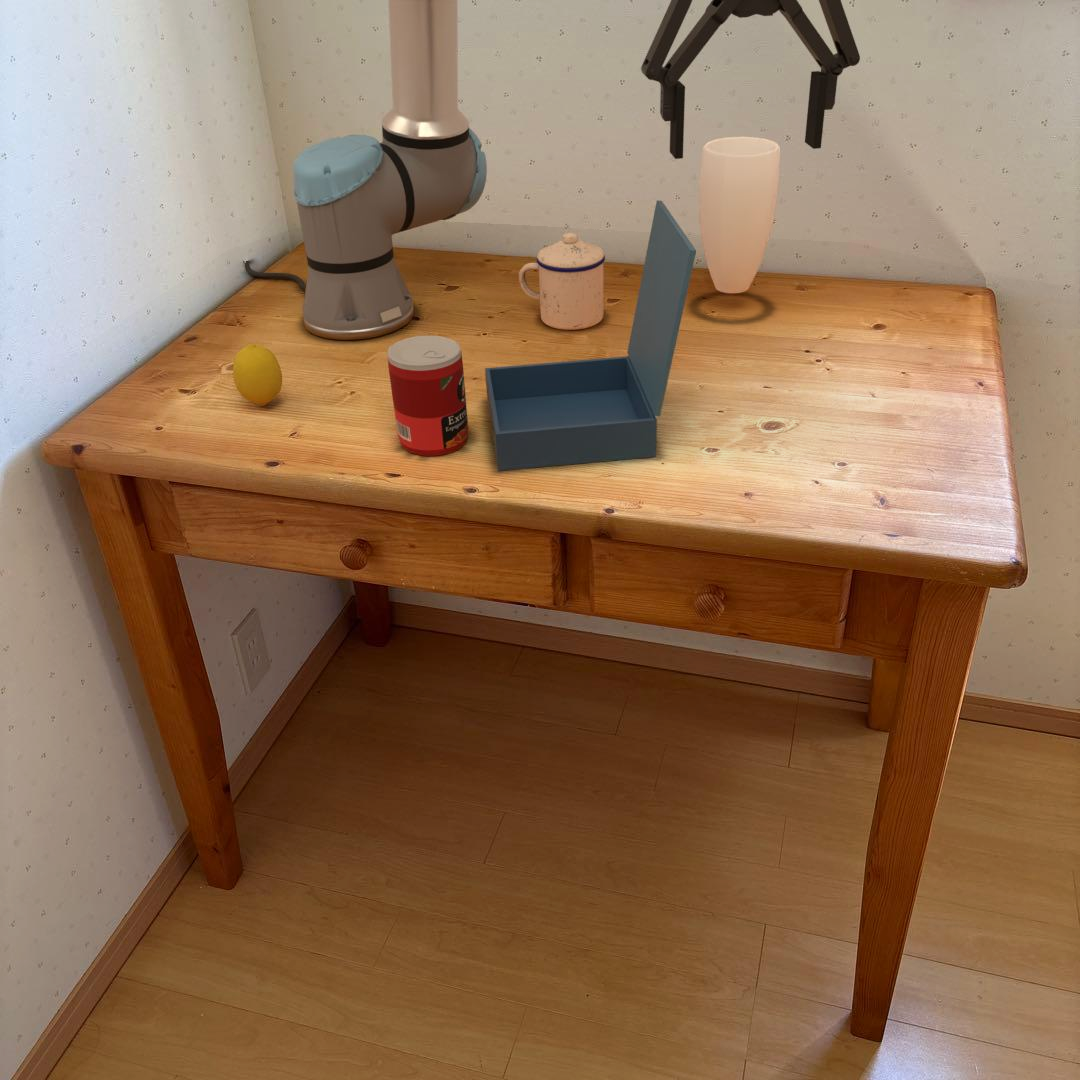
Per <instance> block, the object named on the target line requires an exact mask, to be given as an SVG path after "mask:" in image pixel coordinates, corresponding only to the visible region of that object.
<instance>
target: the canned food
mask: <svg viewBox="0 0 1080 1080" xmlns="http://www.w3.org/2000/svg"><path fill="white" fill-rule="evenodd" d="M386 357H387V367H388V375H389V383H390V388H391V397H392V403H393V411H394V418H395V419H394V420H395V426H396V432H397V433H396V434H397V439H398V441H399V442H400V445H401V447H402V448H403V449H404V450H405V451H407V452H409V453H411V454H414V455H418V456H424V457H436V456H437V457H438V456H444V455H448V454H451V453H454V452H455V451H458V450H459V449H461V448H462V447H463V446H464V445H465V444H466V442H467V440H468V436H469V423H468V421H469V420H468V409H467V399H466V398H467V397H466V384H465V374H464V373H465V372H464V360H463V352H462V347H461V345H460V344H459V343H458V341H456V340H454V339H452V338H449V337H447V336H441V335H431V334H428V335H418V336H417V335H415V336H411V337H407V338H404V339H401V340H399V341H396V342H394V343H393V344H392V345H390V346H389V347H388V348H387V356H386Z"/></svg>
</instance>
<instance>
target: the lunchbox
mask: <svg viewBox="0 0 1080 1080" xmlns="http://www.w3.org/2000/svg"><path fill="white" fill-rule="evenodd" d="M484 372H485V373H484V375H485V386H486V388H485V389H486V401H487V402H486V403H487V408H488V414H489V420H490V427H491V433H492V440H493V448H494V453H495V461H496V466H497V471H498V472H503V471H514V470H515V471H516V470H525V469H535V468H536V469H537V468H547V467H556V466H557V467H559V466H567V465H568V466H569V465H579V464H590V463H603V462H613V461H623V460H624V461H625V460H635V459H646V458H656V457H657V437H658V433H657V432H658V419H657V416H654V413H653V411H652V409H651V407H650V404H649V402H648V400H647V397H646V395H645V393H644V390H643V388H642V386H641V383H640V381H639V379H638V376H637V374H636V372H635V369H634V367H633V365H632V363H631V360H630V358H629V356H628V355H624V356H615V357H603V358H602V357H601V358H600V357H599V358H589V359H579V360H567V361H553V362H543V363H531V364H521V365H520V364H519V365H505V366H496V367H495V366H494V367H485V368H484Z"/></svg>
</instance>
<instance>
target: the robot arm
mask: <svg viewBox="0 0 1080 1080" xmlns="http://www.w3.org/2000/svg"><path fill="white" fill-rule="evenodd" d="M387 1H388V3H387V4H388V5H387V6H388V28H389V49H390V50H389V51H390V75H391V98H392V99H391V101H392V108H391V109H390V110H389V111H388V112H387V113H386V114H385V115H384V116H383V117H382V119H381V132H382V133H381V135H382V141H381V142H380V141H379V140H378V139H377V138H376V137H374V136H371V135H367V134H349V135H346V136H343V137H340V136H336V137H332V138H328V139H324V140H322V141H319V142H317V143H314V144H312V145H311V146H308V147H307V148H305V149H304V150H303V151H302V152H301V153H299V154H298V155H297V156H296V159H295V160H294V163H293V165H292V177H293V188H294V189H293V195H294V199H295V201H296V204H297V211H298V217H299V222H300V227H301V233H302V240H303V245H304V251H305V255H306V260H307V268H308V271H307V272H308V273H307V279H306V283H305V282H304V281H303V279H302V278H301V277H300V276H298V275H296V274H293V273H287V272H263V271H262V272H261V271H256V270H254V269H252V268H251V265H250V260H249V261H246V263H245V266H244V269H245V271H246V272H247V273H248V274H249V275H250V276H252V277H256V278H263V279H264V278H265V279H288V280H292V281H294V282H296V283H297V284H298V285H299V287H300V289H302V290H303V291H304V302H303V305H302V316H303V317H302V318H303V324H304V327H305V329H306V330H307V331H308V332H309V333H311V334H313V335H315V336H318V337H321V338H324V339H330V340H338V341H339V340H340V341H353V340H354V341H355V340H365V339H371V338H377V337H381V336H384V335H388V334H390V333H394V332H395V331H398V330H400V329H402V328H403V327H405V326H407V325H408V324H409V323H410V322H411V321H412V320H413V318H414V316H415V309H414V302H413V298H412V296H411V292H410V291H409V288H408V287H407V284H406V281H405V280H404V278H403V276H402V274H401V272H400V269H399V267H398V265H397V263H396V259H395V255H394V246H393V245H394V244H393V235H395V234H399V233H403V232H406V231H409V230H413V229H415V228H419V227H422V226H425V225H429V224H432V223H436V222H440V221H447V220H451V219H453V218H454V217H456V216H458V215H459V214H462V213H463V214H464V213H466V212H467V211H470V210H471V209H472V208H473V207H474V206H475V205H476V204H477V203H478V202H479V200H480V199H481V197H482V195H483V193H484V190H485V187H486V183H487V182H486V181H487V173H488V166H487V157H486V153H485V151H482V149H481V148H482V146H483V143H482V142H481V140H480V138H479V137H478V135H477V134H476V133H475V131H473V130H472V129H471V128H470V121H469V119H468V117H466V116H465V115H464V114H463V112H461V110H460V109H459V107H458V106H459V103H458V102H459V99H458V98H459V97H458V95H459V93H458V92H459V89H458V87H459V82H458V79H459V77H458V76H459V75H458V73H459V71H458V69H459V68H458V62H459V61H458V45H459V44H458V0H387ZM692 3H693V0H670V2H669V4H668V7H667V9H666V11H665V13H664V15H663V18H662V20H661V22H660V24H659V26H658V28H657V31H656V33H655V35H654V38H653V40H652V42H651V44H650V46H649V49H648V51H647V53H646V55H645V58H644V59H643V62H642V64H641V67H640V71H641V73H642V74H643V75H644V76H645V77H646V79H648V80H650V81H654V82H657V83H659V85H660V95H659V96H660V99H659V100H660V101H659V102H660V103H659V114H660V117H661V119H662V120H663V122H669V153H670V154H671V156H672V157H673V158H674V160H678V159H679V160H681V159H684V137H685V136H684V133H685V107H686V106H685V102H686V95H685V94H686V86H685V84H683V83H682V81H680V79H681V77H682V76H683V75H684V73H686V71H687V69H688V68H689V67H690V66H691V64H692V63H693V62H694V60H696V58H697V57H698V55H699V54H700V53H701V52H702V51H703V49H704V47H705V46H706V45H707V43H708V42H709V41H710V39H711V38H712V37H713V36H714V35H715V33H716V32H717V30H719V28H720V27H721V26H722V25H723V24H725V22H726V21H727V20H728V19H729V17H730V16H731V15H732V16H734V17H737V18H739V19H742V18H750V17H752V16H755V15H759V16H762V17H771V16H772V17H773V16H774V14H776V13H777V12H779V13H780V14H781V15H782V16H783V18H785V20H786V21H787V23H788V24H789V25H790V27H791V28H792V30H793V31H794V32H795V34H796V35H797V37H798V38H799V39H800V41H801V43H802V44H803V45H804V46H805V48H806V49H807V51H808V52H809V54H810V55H811V57H812V58H813V59H814V61H815V62H816V64H817V65H818V66H819V68H820V70H815V71H814V70H813V71H811V72H810V81H809V91H808V92H809V94H808V102H807V103H808V104H807V114H806V124H805V134H804V135H805V136H804V143H805V144H807V145H808V146H809V147H810V148H811V149H813V150H814V149H815V150H816V149H822V141H823V132H824V131H823V130H824V121H825V112H826V111H830V110H833V109H834V106H835V104H836V95H837V87H838V86H837V85H838V78H839V76H841V75H842V73H843V71H844V69H846V68H849V67H855V66H857V65H858V64H859V63H860V61H861V55H860V53H859V49H858V47H857V44H856V41H855V38H854V35H853V32H852V29H851V26H850V23H849V20H848V17H847V15H846V12H845V11H846V10H845V9H844V6H843V3H842V0H818V3H819V6H820V8H821V11H822V14H823V17H824V20H825V22H826V25H827V29H828V31H829V34H830V37H831V39H832V42H833V45H834V47H835V50H836V53H833V52H832V50H831V48H830V47H829V46H828V44H827V43H826V42H825V40H824V39H823V37H822V35H821V34H820V33H819V32H818V30H817V29H816V27H815V26H814V24H813V23H812V22H811V20H810V19H809V17H808V16H807V14H806V13H805V11H804V10H803V7H802V6H801V4H800V3H799V1H798V0H711V1H710V3H708V5H707V6H706V8H705V11H704V13H703V14H702V16H701V17H700V18H699V20H698V21H697V22H696V23H695V24H694V26H693V28H692V29H691V30H690V31H689V33H688V34H687V36H686V37H685V38H684V40H683V41H682V42H681V43H680V45H679V46H678V47H677V49H676V50H675V52H673V54H672V55H671V56H670V58H669V59H668V61H666V59H667V57H668V55H669V53H670V50H671V48H672V47H673V44H674V42H675V40H676V38H677V35H678V34H679V31H680V29H681V27H682V24H683V23H684V20H685V18H686V16H687V13H688V12H689V9H690V7H691V4H692ZM665 61H666V64H665V65H664V63H665ZM242 262H243V263H244V261H243V260H242Z"/></svg>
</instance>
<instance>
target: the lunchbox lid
mask: <svg viewBox="0 0 1080 1080" xmlns="http://www.w3.org/2000/svg"><path fill="white" fill-rule="evenodd" d="M696 254H697V249H696V248H695V246H694V245H693V243H692V242H691V240H690V239H689V238H688V236H687V235H686V233H685V232H684V230H683V229H682V228H681V226H680V225H679V223H678V222H677V220H676V219H675V218H674V216H673V215H672V213H671V211H670V210H669V209H668V207H667V206H666V204H665V203H664V202H663V200H659V199H658V200H656V203H655V207H654V213H653V218H652V223H651V229H650V234H649V238H648V244H647V248H646V254H645V259H644V264H643V269H642V275H641V279H640V285H639V289H638V295H637V300H636V305H635V310H634V316H633V321H632V325H631V332H630V337H629V342H628V347H627V356H629V358H630V360H631V363H632V365H633V367H634V369H635V372H636V374H637V376H638V379H639V381H640V383H641V386H642V388H643V390H644V393H645V395H646V397H647V400H648V402H649V404H650V407H651V409H652V411H653V413H654V416H656V417H661V413H662V409H663V408H662V407H663V405H664V400H665V396H666V395H665V394H666V392H667V391H666V390H667V386H668V381H669V377H670V372H671V368H672V363H673V358H674V354H675V349H676V345H677V340H678V336H679V331H680V328H681V327H680V326H681V322H682V318H683V315H684V314H683V313H684V308H685V304H686V300H687V296H688V290H689V286H690V283H691V277H692V274H693V273H692V272H693V267H694V264H695V259H696Z"/></svg>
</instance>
